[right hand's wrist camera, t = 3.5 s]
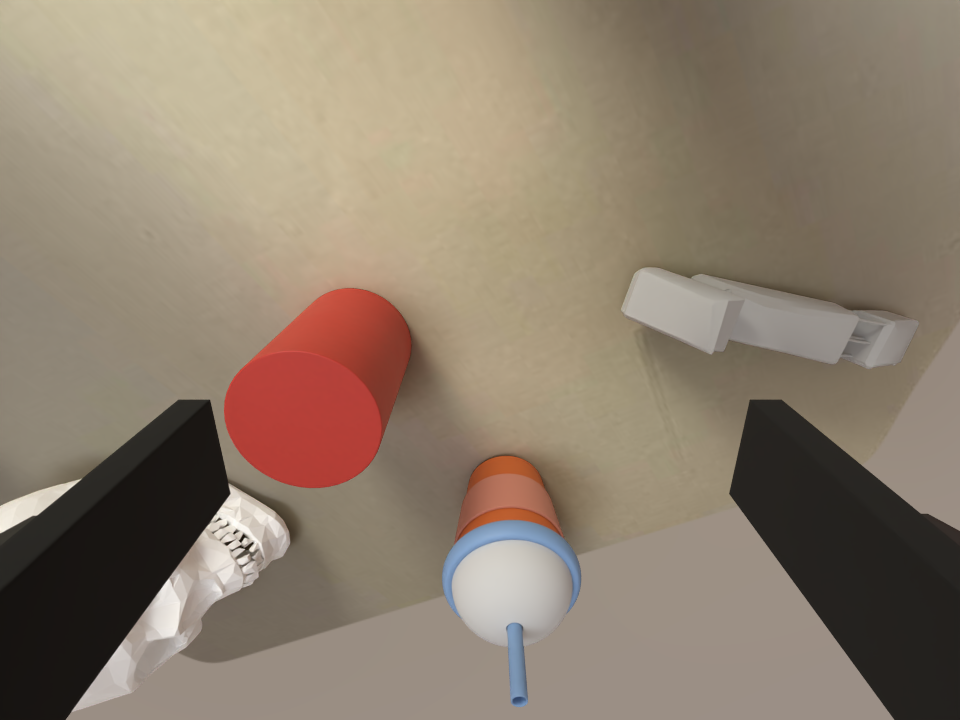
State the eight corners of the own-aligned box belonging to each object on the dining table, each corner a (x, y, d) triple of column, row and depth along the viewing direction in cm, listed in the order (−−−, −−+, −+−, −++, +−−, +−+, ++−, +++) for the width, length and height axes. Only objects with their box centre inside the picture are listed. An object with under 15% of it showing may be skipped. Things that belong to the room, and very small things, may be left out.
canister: (434, 346, 38) (414, 428, 27) (359, 412, 40) (312, 513, 29) (351, 264, 36) (292, 317, 25) (276, 338, 38) (191, 418, 27)
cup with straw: (562, 524, 44) (609, 751, 28) (458, 532, 45) (443, 761, 28) (557, 434, 41) (607, 631, 24) (444, 444, 41) (418, 645, 25)
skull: (308, 575, 47) (227, 766, 32) (70, 576, 47) (-120, 766, 32) (287, 448, 42) (180, 602, 27) (22, 450, 42) (-227, 604, 27)
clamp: (613, 311, 36) (651, 348, 30) (629, 259, 35) (672, 287, 29) (856, 350, 40) (935, 391, 33) (880, 304, 38) (967, 338, 32)
